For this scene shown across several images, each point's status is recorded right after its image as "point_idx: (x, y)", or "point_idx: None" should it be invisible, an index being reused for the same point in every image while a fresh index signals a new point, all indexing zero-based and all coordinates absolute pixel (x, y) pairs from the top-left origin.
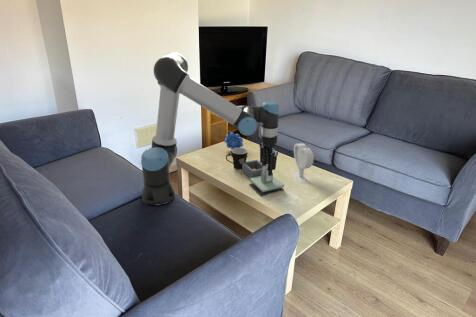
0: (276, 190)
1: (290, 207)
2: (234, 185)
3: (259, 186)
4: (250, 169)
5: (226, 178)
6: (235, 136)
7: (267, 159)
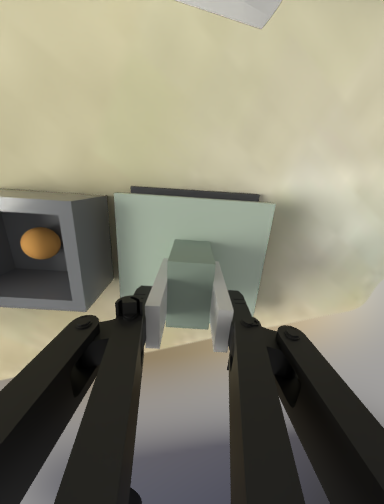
0: None
1: (379, 258)
2: None
3: None
4: (58, 308)
5: None
6: None
7: (231, 486)
